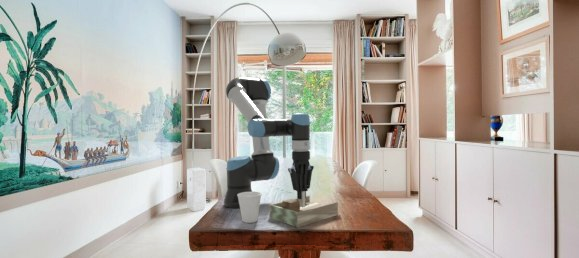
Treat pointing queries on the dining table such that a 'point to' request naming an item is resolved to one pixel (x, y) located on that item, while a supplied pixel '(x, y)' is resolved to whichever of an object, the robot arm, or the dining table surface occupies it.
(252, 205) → the cup
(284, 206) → the block
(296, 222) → the box
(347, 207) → the dining table surface
